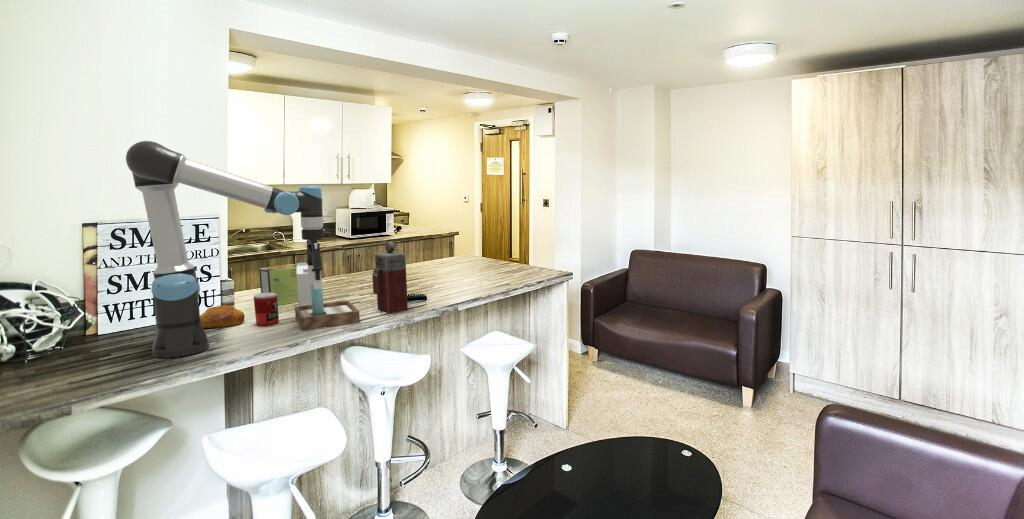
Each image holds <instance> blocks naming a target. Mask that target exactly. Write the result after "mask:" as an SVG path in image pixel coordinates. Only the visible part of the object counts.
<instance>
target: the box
mask: <svg viewBox="0 0 1024 519" xmlns="http://www.w3.org/2000/svg"><path fill="white" fill-rule="evenodd" d="M323 306H324V315H318V316H313V312H312V305H306V306H299V305H297V306H294V313H295V314H294V315H295V316H294V317H295V320H296V321H298V322H297V323H298V325H299V327H300V329H301V331H302V330H304V331H310V330H309V329H312V330H317V329H316V328H319V329H325V328H324V327H326V328H332V327H338V326H339V327H340V326H346V325H354V324H360V323H361V320H360V318H361V316H360V310H359V309H358V308H356V306H354V305H353V304H352V302H350V301H349V300H342V301H341V300H340V301H334V302H323Z"/></svg>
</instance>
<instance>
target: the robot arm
mask: <svg viewBox="0 0 1024 519" xmlns="http://www.w3.org/2000/svg"><path fill="white" fill-rule="evenodd" d="M125 162H126V165H127V167H128V169H129V170H130V172H131V175H132V177H133V182H134V187H135V189H136V190H138V191H140V192H141V193H142V198H143V203H144V206H145V211H146V215H147V221H148V227H149V231H150V235H151V241H152V245H153V250H154V255H155V260H156V266H157V267H156V268H155V269H154V271H153V278H154V280H153V281H152V283H151V290H150V292H151V294H152V298H153V305H154V306H153V308H154V315H155V316H154V317H155V324H156V333H155V335H154V339H153V343H152V347H151V351H152V356H153V355H154V356H157V357H156V358H158V357H168V358H167V359H173V358H172V357H175V358H181V357H180V356H183V357H187V356H186V355H188V356H191V355H190V354H192V355H195V353H196V354H199V353H202V352H204V351H206V350H208V349H209V348H210V340H209V338H208V336H207V334H206V331H205V328H203V327H202V325H201V322H200V315H201V314H200V304H199V296H200V292H201V286H200V283H199V281H198V278H197V273H196V267H195V265H194V264H192V263H190V262H189V259H188V254H187V249H186V245H185V239H184V234H183V228H182V222H181V217H180V213H179V209H178V208H179V207H178V204H177V197H176V192H175V190H176V188H177V187H178V185H179V184H181V185H185V186H189V187H192V188H196V189H197V190H198V189H199V190H202V191H206V192H208V193H212V194H215V195H219V196H222V197H224V198H229V199H232V200H236V201H239V202H243V203H246V204H248V205H252V206H255V207H259V208H262V209H263V210H264V212H265V213H268V214H271V213H272V214H280V215H282V216H291V215H293V214H294V213H300V228H302V229H301V239H302V240H303V241H304V240H305V241H306V262H305V263H307V265H309V266H308V283H313V284H314V289H322V290H323V284H322V283H323V282H322V279H323V278H322V270H323V266H322V264H323V263H322V256H321V255H322V254H321V249H320V247H321V244H320V243H319V241H318V240H320V241H321V240H323V239H324V229H323V227H324V222H325V221H326V220H325V218H323V217H324V216H323V196H322V195H323V194H322V188H321V187H320V186H318V185H301V186H299V190H296V191H287V190H282V189H279V188H278V187H273V186H270V185H267V184H265V183H262V182H258V181H255V180H252V179H250V178H249V179H248V178H247V177H242V176H239V175H237V174H233V173H230V172H227V171H225V170H222V169H218V168H215V167H213V166H209V165H205V164H203V163H199V162H197V161H194V160H191V159H188V158H187V157H186V156H185V154H183V153H180V152H178V151H174V150H172V149H170V148H167V147H166V146H164V145H162V144H160V143H158V142H156V141H151V140H141V141H138V142H136V143H134V144H132V145H131V146H130V147H129V148H128V150H127V151H126V156H125ZM198 352H199V353H198ZM154 356H153V357H154ZM170 357H171V358H170Z"/></svg>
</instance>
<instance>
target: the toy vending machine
mask: <svg viewBox="0 0 1024 519" xmlns="http://www.w3.org/2000/svg"><path fill="white" fill-rule="evenodd" d="M395 248H396V247H395V242H394V241H385V243H384V250H385V252H376V253H375V254H374V260H375V261H374V262H375V267H374V268H373V271H372V292H373V294H374V295H376V300H377V304H376V305H377V310H378V311H379V310H380V312H382V311H383V312H382V313H385V312H386V313H385V314H388V313H390V314H394V313H393V312H395V313H398V311H400V312H404V311H403V310H405V311H408V310H409V306H408V286H407V285H408V284H407V283H408V282H407V263H406V262H407V261H406V253H405V252H400V251H395Z"/></svg>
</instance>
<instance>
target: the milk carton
mask: <svg viewBox="0 0 1024 519" xmlns="http://www.w3.org/2000/svg"><path fill="white" fill-rule="evenodd" d="M296 265H297V273H296V274H297V287H298V301H299V302H298V306H306V305H312V298H311V285H313V283H308V266H309V265H307V262H297V263H296Z"/></svg>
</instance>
